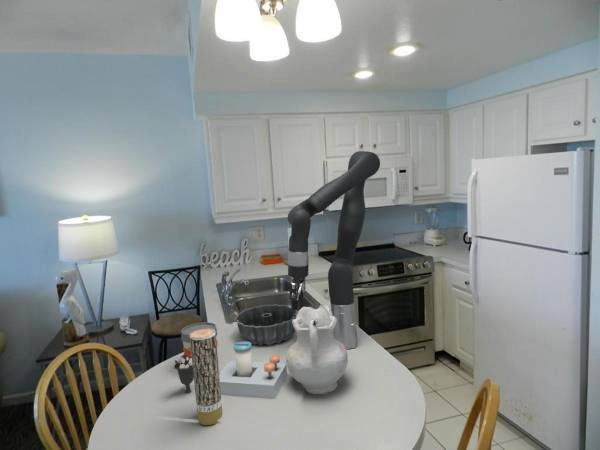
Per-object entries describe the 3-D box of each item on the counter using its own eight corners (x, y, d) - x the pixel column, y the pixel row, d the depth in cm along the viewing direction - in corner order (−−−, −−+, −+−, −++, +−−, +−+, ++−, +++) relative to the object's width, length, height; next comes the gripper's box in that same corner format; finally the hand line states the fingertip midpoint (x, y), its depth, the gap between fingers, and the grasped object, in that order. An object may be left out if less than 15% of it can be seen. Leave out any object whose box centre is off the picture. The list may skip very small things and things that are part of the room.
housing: (287, 378, 131) (286, 363, 130) (275, 401, 117) (273, 385, 116) (231, 374, 135) (230, 360, 135) (213, 396, 122) (212, 381, 121)
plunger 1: (276, 374, 122) (275, 362, 122) (273, 380, 119) (272, 367, 119) (266, 374, 123) (265, 362, 123) (263, 379, 120) (262, 367, 120)
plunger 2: (281, 366, 128) (280, 354, 127) (278, 371, 125) (277, 359, 124) (272, 366, 128) (271, 354, 128) (269, 370, 125) (268, 358, 125)
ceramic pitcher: (357, 404, 115) (359, 321, 112) (291, 409, 112) (292, 324, 109) (338, 370, 136) (339, 300, 134) (282, 374, 133) (283, 302, 130)
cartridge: (256, 379, 129) (253, 339, 127) (250, 388, 123) (247, 347, 122) (240, 378, 130) (237, 339, 128) (234, 387, 125) (230, 346, 123)
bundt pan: (271, 356, 148) (269, 330, 147) (223, 342, 164) (221, 319, 163) (311, 332, 169) (310, 309, 168) (266, 322, 185) (264, 301, 184)
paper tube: (200, 413, 113) (192, 329, 110) (224, 410, 114) (216, 327, 111) (196, 427, 106) (187, 339, 104) (221, 425, 107) (213, 337, 104)
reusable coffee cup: (227, 363, 144) (223, 323, 143) (205, 379, 133) (201, 337, 131) (199, 358, 150) (196, 320, 148) (176, 374, 138) (172, 333, 137)
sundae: (203, 390, 126) (199, 345, 124) (191, 401, 120) (186, 354, 118) (186, 388, 128) (181, 344, 126) (173, 399, 122) (168, 352, 120)
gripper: (303, 268, 135) (303, 313, 137) (312, 259, 149) (311, 301, 151) (282, 266, 137) (282, 311, 139) (293, 258, 151) (292, 299, 153)
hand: (297, 306), depth 145 cm, fingers open, 8 cm apart
